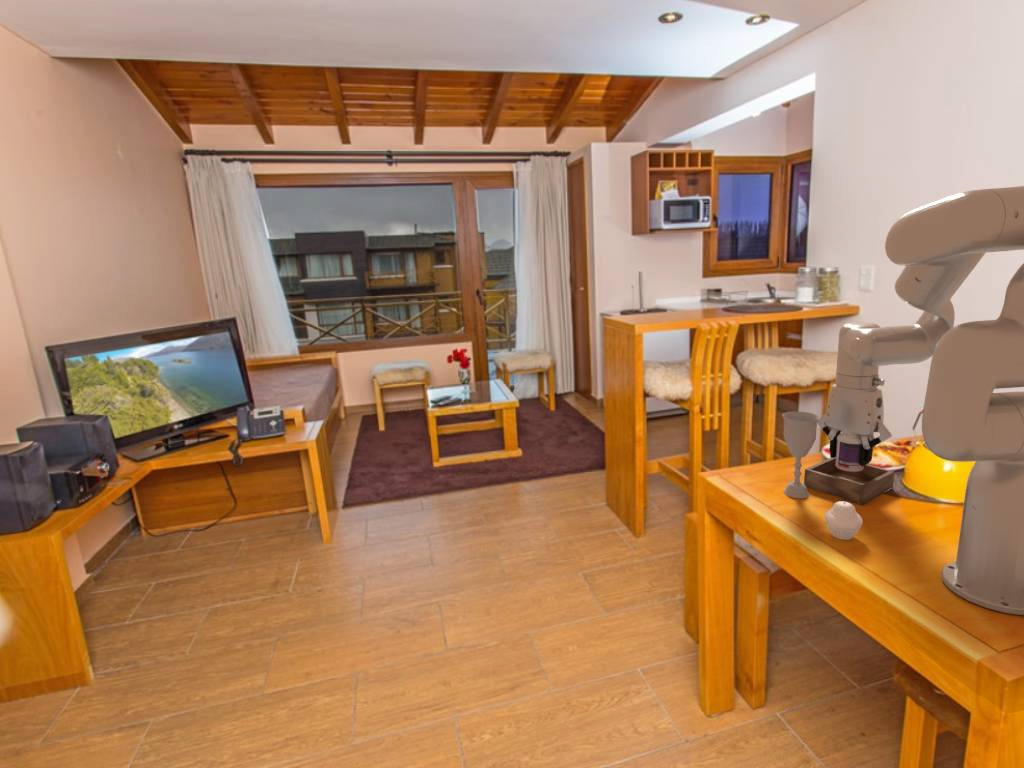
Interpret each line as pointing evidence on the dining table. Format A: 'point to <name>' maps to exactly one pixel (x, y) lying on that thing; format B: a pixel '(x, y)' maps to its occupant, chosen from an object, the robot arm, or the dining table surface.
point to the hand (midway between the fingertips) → (849, 459)
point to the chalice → (799, 445)
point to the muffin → (843, 520)
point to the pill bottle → (848, 452)
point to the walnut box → (849, 481)
